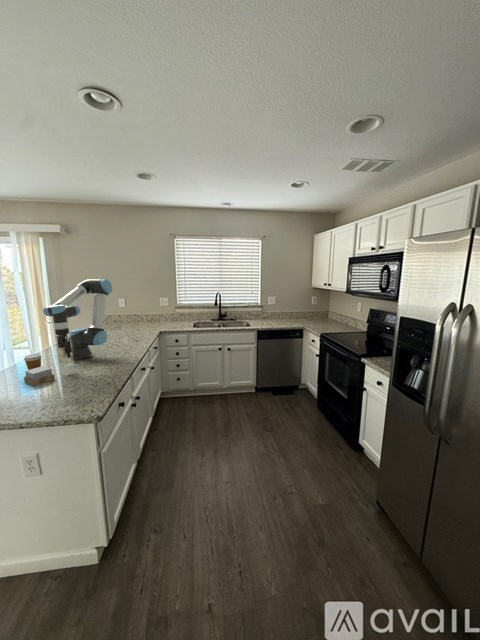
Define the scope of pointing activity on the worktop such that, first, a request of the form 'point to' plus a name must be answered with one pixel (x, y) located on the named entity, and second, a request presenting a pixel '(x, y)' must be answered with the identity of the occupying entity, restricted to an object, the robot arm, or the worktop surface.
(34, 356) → the disposable coffee cup
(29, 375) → the top slab
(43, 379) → the base slab
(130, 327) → the worktop surface
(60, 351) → the birch block
